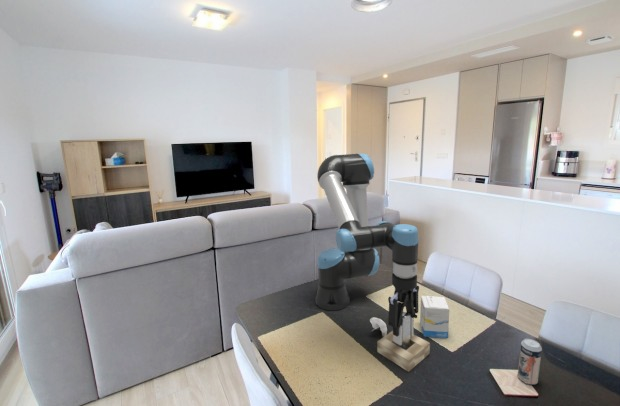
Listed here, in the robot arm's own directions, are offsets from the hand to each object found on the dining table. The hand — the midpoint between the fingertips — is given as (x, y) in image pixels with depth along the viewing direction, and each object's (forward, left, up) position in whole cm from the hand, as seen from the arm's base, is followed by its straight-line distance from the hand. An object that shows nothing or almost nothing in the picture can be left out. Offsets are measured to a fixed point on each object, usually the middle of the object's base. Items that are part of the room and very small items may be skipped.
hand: (403, 338), depth 99 cm
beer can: (+30, +17, -6) cm, 35 cm away
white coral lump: (-12, +3, -6) cm, 14 cm away
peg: (0, 0, -5) cm, 5 cm away
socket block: (0, 0, -5) cm, 5 cm away
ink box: (+1, +18, -6) cm, 19 cm away
